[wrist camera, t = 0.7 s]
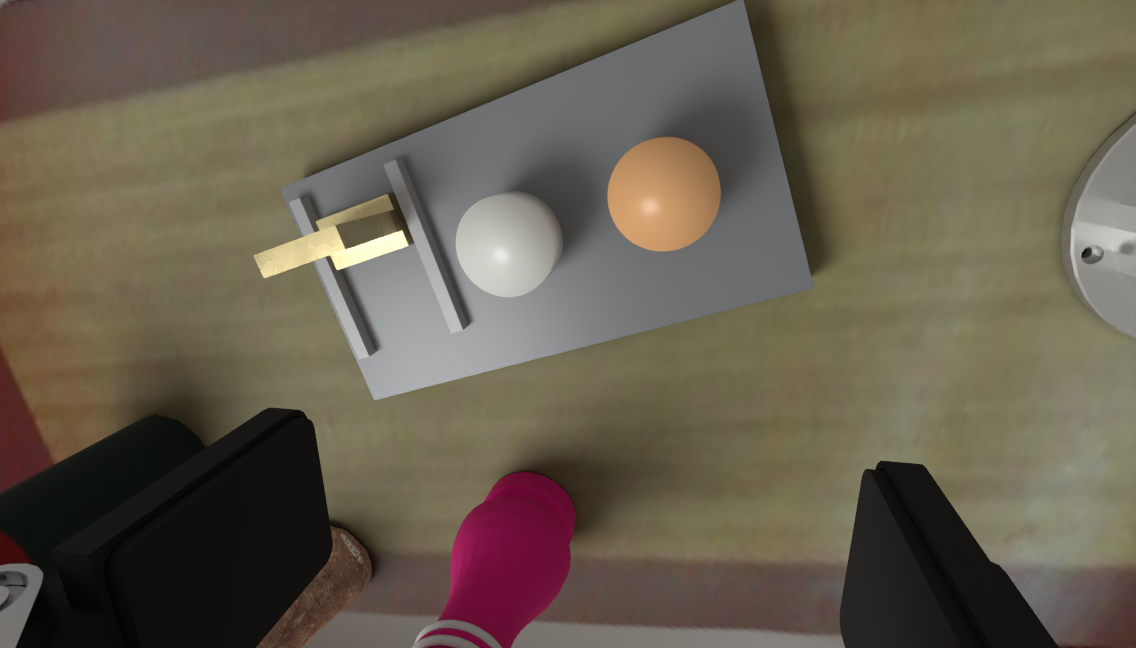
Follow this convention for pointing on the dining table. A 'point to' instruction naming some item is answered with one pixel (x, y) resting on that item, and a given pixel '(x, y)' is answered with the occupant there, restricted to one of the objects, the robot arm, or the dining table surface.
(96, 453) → the wine bottle
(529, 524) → the pepper mill
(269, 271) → the brass paddle
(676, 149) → the orange button
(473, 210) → the white knob
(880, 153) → the dining table surface
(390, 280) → the control panel
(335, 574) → the brown speckled elongated rod
